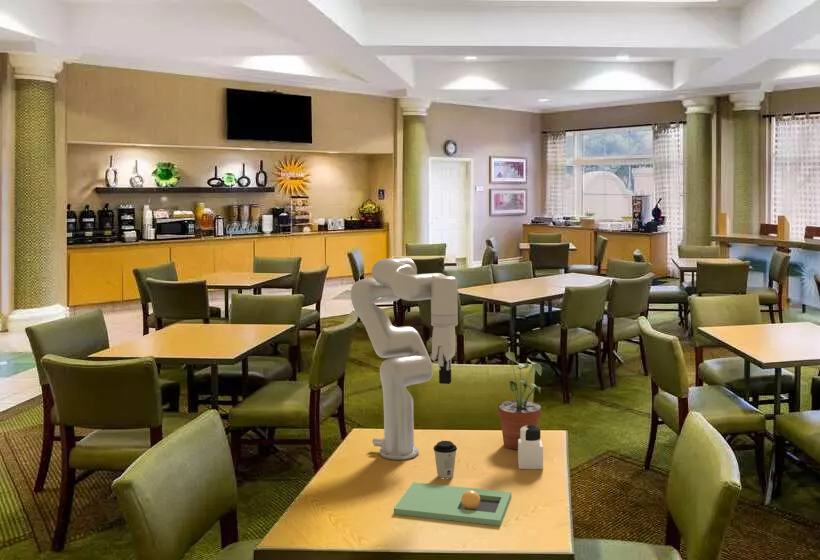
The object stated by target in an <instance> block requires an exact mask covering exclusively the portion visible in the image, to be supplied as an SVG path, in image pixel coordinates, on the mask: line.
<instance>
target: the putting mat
mask: <svg viewBox="0 0 820 560" xmlns="http://www.w3.org/2000/svg"><path fill="white" fill-rule="evenodd" d="M468 490H473V491H475V492H477V493H478V495H479V496H480V504H479V506H478V507H477V508H476V509H474V510H468V509H466V508H465V507H464V506H463V505H462V502H461V498H462V495H463V494H464V493H465V492H466V491H468ZM511 499H512V491H506V490H505V491H504V490H497V489H495V490H493V489H484V488H474V487H466V486H465V487H464V486H455V485H454V486H453V485H443V484H435V483H426V482H417V481H416V482H412V483H411V484H410V485H409V487H408V489H406V491H405V492H404V493H403V496H401V498H400V499H399V501H398V502H396V504H395V506H394V508H393V514H394V515H400V516H409V517H417V518H418V517H419V518H425V519H426V518H427V519H435V520H442V519H444V520H445V521H451V520H453V522H459V521H462V522H461V523H468V522H471V523H470V524H477V523H478V524H479V523H480V525H485V524H487V525H486V526H494V525H495V526H497V527H501V526H502V522H503V520H504V517H505V515H506V513H507V510H508V507H509V505H510V501H511Z"/></svg>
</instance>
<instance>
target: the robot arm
mask: <svg viewBox="0 0 820 560" xmlns="http://www.w3.org/2000/svg"><path fill="white" fill-rule="evenodd" d="M371 275H372V277H368V278H363V279H360V280H357V281H355V282H354V283H353V285H352V286H351V289H350V300H351V305H352V307H353V309H354V311H355V313H356V315H357V316H358V318H359V319H360V321H361V322H362V324H363V325H364V328H365V330H366V333H367V335H368V338H369V339H370V342H371V345H372V347H373V349H374V351H375V354H376V355H377V356H378V357H380V358H383V359H384V360H383V361H382V363H381V364H380V367H379V377H380V382H381V386H382V395H383V398H382V400H383V427H384V429H383V431H384V434H383V435H384V437H382V438H377V437H376V438H375V437H373V438H372V444H373V446H374V447H380V449H379V454H380V456H381V457H382V458H385V459H387V460H395V461H401V460H403V461H404V460H409V459H412V458H416V457H417V456H418V455H419V453H420V449H419V447H418V446H416V445H415V435H414V433H415V429H414V421H415V420H414V418H415V417H414V398H413V396H412V394H411V392H410V391H409V390H408V389H407V387H408V386H412V385H418V384H422V383H427V382H428V381H430V380H431V379H432V377H433V376H434V366H433V362H436V360H438V365H437V366H438V383H439V384H441V385H450V384H451V383H452V358H453V357H455V355H456V346H457V345H456V343H457V342H456V329H455V328H456V327H457V326H458V324H459V319H458V317H459V315H458V314H459V311H458V309H459V308H458V305H459V304H458V292H459V291H458V279H457V278H456V277H455V276H449V275H445V274H443V273H441V272H433V273H418V268H417V265H416V263H415V262H414V260H412V259H411V258H409V257H405V256H404V257H388V258H382V259H379V260H378V261H376V262H375V263H374V264H373V266H372V268H371ZM400 299H401V300H403V301H404V300H405V301H408V302H415V301H426V300H430V316H431V317H430V318H431V319H430V321H431V323H430V324H431V326H432V328H433V329H432V337H431V340H432V341H431V357H430V355H429V352H428V351H427V348H426V345H425V344H424V341H423V340H422V337H421V335H420V333H419V331H418V330H416V329H415V328H414V327H412V326H409V325H408V326H407V325H406V326H394V325H393V324H392V322H391V319H390V317H389V315H388V314H387V312H385V311H384V310H383V309H382V308H381V307H379V306H378V305H376V304H380V303H381V304H382V303H391V302H396V301H399V300H400ZM432 361H433V362H432Z"/></svg>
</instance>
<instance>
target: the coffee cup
mask: <svg viewBox="0 0 820 560" xmlns="http://www.w3.org/2000/svg"><path fill="white" fill-rule="evenodd" d="M457 450H458V447H457V445H456V444H454V442H452V441H450V440H441V441H439V442H437V444H435V445H434V446H433V452H434V456H435V457H434V458H435V466H436V473H437V478H438V477H440V478H444V479H443V480H448V479H447V478H451V479H453V478H454V472H455V464H456V463H455V462H456V455H457ZM452 477H453V478H452ZM440 478H439V479H440Z"/></svg>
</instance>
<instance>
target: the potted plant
mask: <svg viewBox="0 0 820 560" xmlns="http://www.w3.org/2000/svg"><path fill="white" fill-rule="evenodd" d="M505 357H506V358H507V359H509V361H510V360H511V367H512V369H513V375H514V381H515V382H514V381H512V380H510V381H509V387H510V390H511V391H512V392H514V393H515V400H505V401H503V402H501V403H499V404H498V406H497V415H498V416H499V417H500V426H501V432H502V433H501V434H502V440H503V442H502V443H503V446H504V447H505V448H508V449H514V450H518V439H520V429H521V428H522V427H524V426H527V425H532V426H536V427H538V422H539V419H540V417H541V416H542V407H541V405H540V404H539V403H536V402H532V401H528V400H529V398H530V396H532V394H534V392H535V391H536V390H537V392H539V393H538V394H539V395H541V391H542V387H541V386H537V385H536V384H535V383H533V382H531V383H530V385H532V388H531V386H530V385H529V384H528V379H529V376H530V374H531V371H532V369H535V371H536V372H537V373H538V375H539V376H542V371H543V367H542V364H541V363H538V362H533V361H531V360H530V359H529V358H528V357H526V362H525V363H518V361H517V360H516V354H515V352H513V351H506V352H505ZM513 362H514V363H516V364H517V365H519V367H518V366H517V367H516V369H519V376H520V380H519V382H520V387H519V388H518V384H517V377H516V372H515V367H514V365H513ZM529 363H530V364H531V367H530V370H529V373H528V376H527V378H526V379H525V378H522V375H521V374H522V373H521V370H522V369H527V368H529ZM522 387H523V388H522ZM527 387H528V388H529V390H530V392H529V393H528V395H527V396H526V398H525V399H523V398H524V394H525V392H526V390H527Z"/></svg>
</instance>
